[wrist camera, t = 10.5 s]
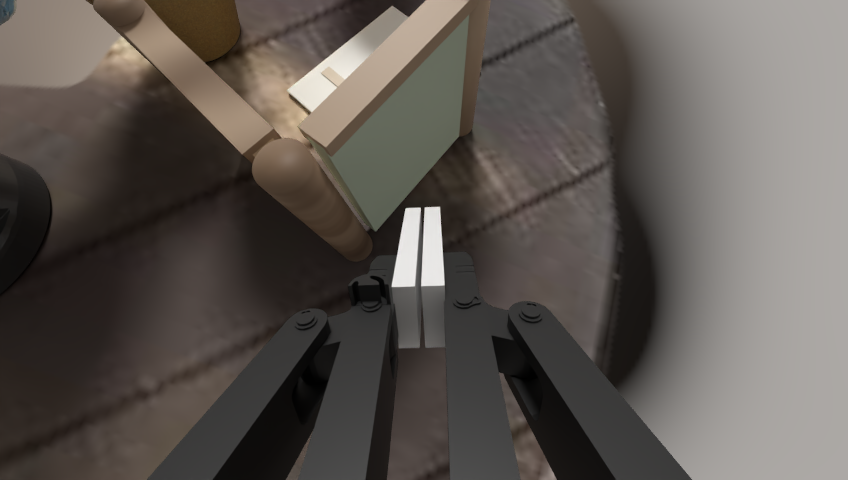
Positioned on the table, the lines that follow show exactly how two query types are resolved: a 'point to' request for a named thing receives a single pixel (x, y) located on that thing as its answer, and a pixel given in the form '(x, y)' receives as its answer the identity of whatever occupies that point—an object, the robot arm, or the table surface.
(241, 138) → the fence fixed
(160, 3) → the plant pot
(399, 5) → the table surface
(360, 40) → the card
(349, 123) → the fence gate
